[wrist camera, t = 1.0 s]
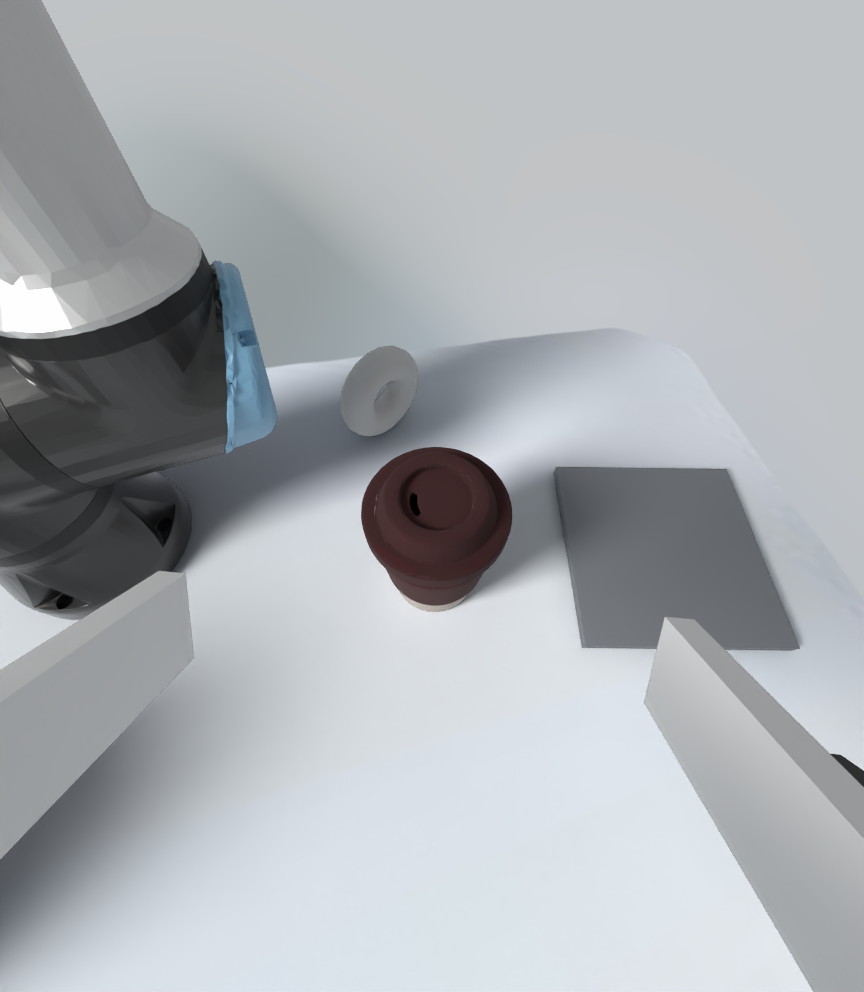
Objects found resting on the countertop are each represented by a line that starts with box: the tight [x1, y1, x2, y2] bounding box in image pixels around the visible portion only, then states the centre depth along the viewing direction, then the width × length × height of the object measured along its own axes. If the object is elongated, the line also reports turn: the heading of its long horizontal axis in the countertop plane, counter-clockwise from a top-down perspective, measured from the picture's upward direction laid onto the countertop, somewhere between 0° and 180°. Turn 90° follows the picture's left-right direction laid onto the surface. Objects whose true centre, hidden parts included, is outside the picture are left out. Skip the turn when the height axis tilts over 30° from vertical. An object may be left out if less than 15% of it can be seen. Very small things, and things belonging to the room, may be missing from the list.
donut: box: [340, 346, 418, 436], centre depth 43 cm, size 10×4×10 cm, turn 139°
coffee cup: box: [361, 447, 512, 612], centre depth 32 cm, size 10×10×15 cm
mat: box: [554, 467, 800, 650], centre depth 39 cm, size 18×18×1 cm
